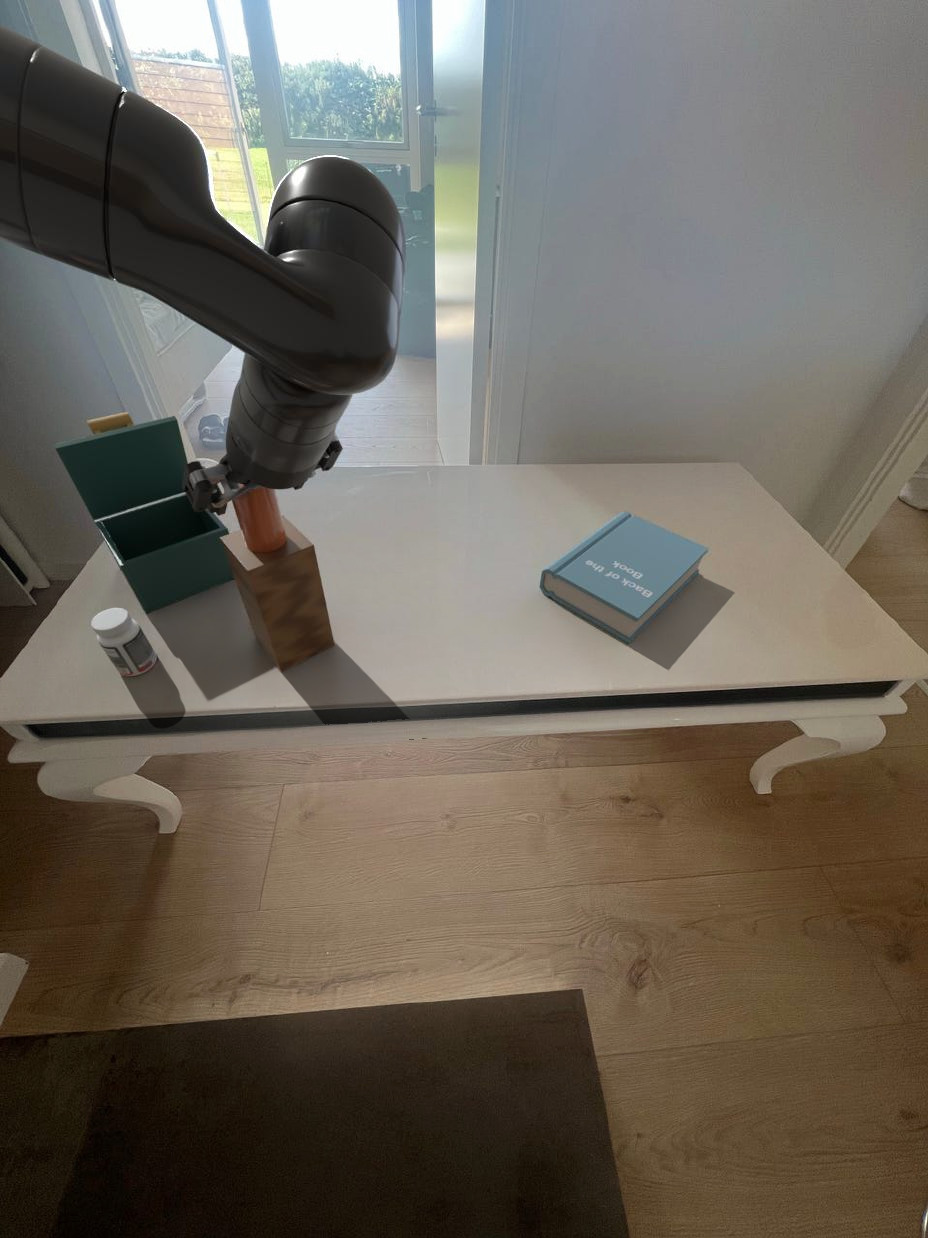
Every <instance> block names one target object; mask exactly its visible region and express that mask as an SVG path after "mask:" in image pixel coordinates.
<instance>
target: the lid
mask: <svg viewBox="0 0 928 1238" xmlns="http://www.w3.org/2000/svg"><path fill="white" fill-rule="evenodd" d="M86 423H87V426H88V428H89V430H90V432H91V434H92V435H87V436H83V437H78V438H73V439H69V440H66V441H60V442H56V443H53V444H52V445H53V447H54V450H55V451H56V453H57V455H58V457H59V458H60V461H61V462H62V464H63V466H64V468H65V470H66V472H67V473H68V476H69V477H70V479H71V482H72V483H73V485H74V487H75V489H76V490H77V492H78V494H79V496H80V498H81V500H82V501H83V503H84V505H85V507H86V509H87V512H88V513H89V515H90V516H91V519H92V520H93V521H95V520H99V519H102V518H105V517H109V516H112V515H115V514H119V513H122V512H125V511H128V510H132V509H135V508H138V507H141V506H145V505H148V504H151V503H155V502H158V501H161V500H164V499H168V498H171V497H174V496H178V495H181V494H184V493H185V492H184V490H183V488H182V483H183V478H184V472H185V466H186V465H187V464H189V462H188V457H187V453H186V450H185V445H184V443H183V437H182V433H181V430H180V426H179V422H178V419H177V417H176V415H171V416H168V417H164V418H163V417H162V418H160V419H155V420H151V421H147V422H143V423H138V424H134V421H133V419H132V416H131V415H130V414H129V412H128V411H125V412H120V413H116V414H112V415H107V416H103V417H102V416H101V417H97V418H93V419H88V420H86Z"/></svg>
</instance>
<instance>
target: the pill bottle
mask: <svg viewBox="0 0 928 1238" xmlns="http://www.w3.org/2000/svg"><path fill="white" fill-rule="evenodd" d="M90 626H91V628H92V630H93V631H94V633H95V634H96V641H97V642H98V644H99V645H100V647H101V648H102V650H103V651H104V652H105V654H106V655H107V657H108V659H109V660H110V662H111V664H113V666H114V667H115V669H116V670H117V671H118V673H119V674H120V675H122V676H125V677H134V676H139V675H143V674H144V673H146V672H148V671H149V670H151V668H153V667H154V665H155V664H156V661H157V658H158V657H157V653H156V651H155V649H154V647H153V646H152V645H151V643H150V641H149V640H148V638H147V636H146V635H145V633H144V631H143V629H142V628H141V626H140V624H139V623H138V622H137V620H135V619H133V618H132V617H131V616H130V614H129V612H128V611H127V610H126V609H125V608H122V607H110V608H107V609H104V610H102V611H100V612H98V613H97V614H96V615H94V616H93V618H92V619H91V621H90Z"/></svg>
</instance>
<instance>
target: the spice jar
mask: <svg viewBox="0 0 928 1238" xmlns="http://www.w3.org/2000/svg"><path fill="white" fill-rule="evenodd" d="M238 485H239V487H240V488H242V487H243V486H244V485H240V484H238ZM231 503H232V506H233V509H234V513H235V516H236V518H237V519H236V520H237V522H238V525H239V528H240V530H241V531H242V534H243V538H244V541H245V544H246V546H247V548H248V549H250V550H251V551H254V552H259V553H265V552H271V551H274V550H277V549H279V548H280V547H282V546H283V545H284V544H285V543H286V540H287V537H286V532H285V528H284V524H283V520H282V516H281V515H282V513H281V509H280V505H279V501H278V496H277V493H276V489H270V488H266V487H265V488H263V489H257V490H255V491H254V492H253V493H251V494H250V495H248V496H247V497H245V498H244V499H241V500H231Z"/></svg>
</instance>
